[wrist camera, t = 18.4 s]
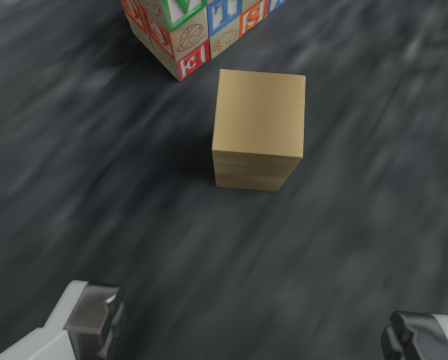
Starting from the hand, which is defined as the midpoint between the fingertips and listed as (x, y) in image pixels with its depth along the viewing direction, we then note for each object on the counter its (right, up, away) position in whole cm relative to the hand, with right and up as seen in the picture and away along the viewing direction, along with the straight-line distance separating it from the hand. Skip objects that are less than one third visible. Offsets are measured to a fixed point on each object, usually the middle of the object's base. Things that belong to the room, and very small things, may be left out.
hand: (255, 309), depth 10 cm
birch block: (+1, +5, +15) cm, 16 cm away
